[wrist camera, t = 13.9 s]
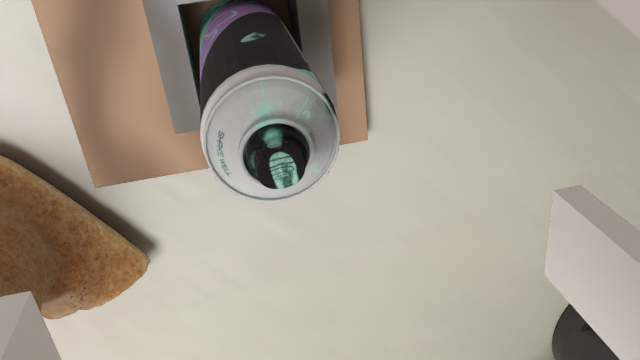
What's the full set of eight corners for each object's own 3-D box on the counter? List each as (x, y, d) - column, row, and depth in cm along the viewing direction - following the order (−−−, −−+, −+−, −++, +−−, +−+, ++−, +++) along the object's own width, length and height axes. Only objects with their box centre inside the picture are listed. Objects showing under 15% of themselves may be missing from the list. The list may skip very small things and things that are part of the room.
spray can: (240, -27, 35) (281, 60, 18) (300, 35, 37) (388, 164, 20) (181, 36, 36) (165, 176, 19) (243, 92, 39) (281, 262, 21)
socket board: (346, -98, 36) (371, -95, 30) (363, 132, 43) (385, 166, 38) (19, -57, 33) (-14, -46, 28) (98, 178, 41) (83, 220, 36)
